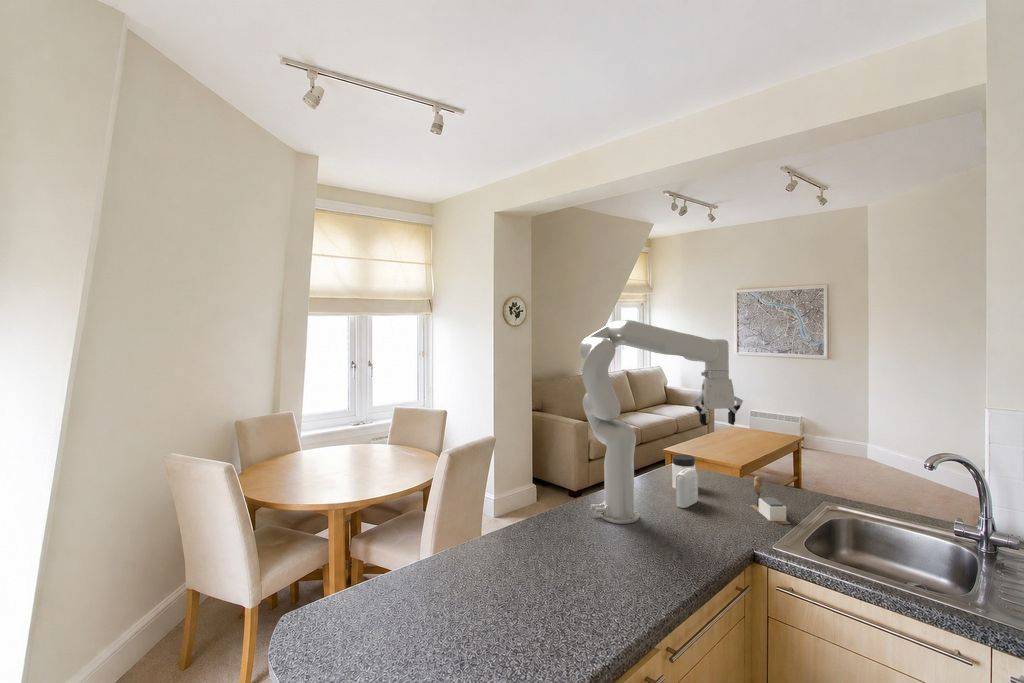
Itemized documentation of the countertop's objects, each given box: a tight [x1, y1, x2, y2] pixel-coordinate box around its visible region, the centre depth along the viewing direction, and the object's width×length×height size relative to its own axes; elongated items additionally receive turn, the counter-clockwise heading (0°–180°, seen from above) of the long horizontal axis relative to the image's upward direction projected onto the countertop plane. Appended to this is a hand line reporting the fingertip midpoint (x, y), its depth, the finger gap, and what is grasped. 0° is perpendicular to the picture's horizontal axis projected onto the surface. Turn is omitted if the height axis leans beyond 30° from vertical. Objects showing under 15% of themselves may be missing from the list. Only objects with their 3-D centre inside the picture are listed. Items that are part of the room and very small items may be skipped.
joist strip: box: [749, 504, 792, 525], centre depth 159 cm, size 5×16×1 cm, turn 0°
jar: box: [671, 453, 696, 490], centre depth 187 cm, size 9×8×12 cm
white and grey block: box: [758, 496, 787, 522], centre depth 157 cm, size 5×8×5 cm, turn 176°
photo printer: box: [675, 468, 699, 509], centre depth 170 cm, size 10×4×12 cm, turn 134°
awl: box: [753, 475, 764, 506], centre depth 166 cm, size 3×3×10 cm
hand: (717, 424), depth 167 cm, fingers open, 9 cm apart
